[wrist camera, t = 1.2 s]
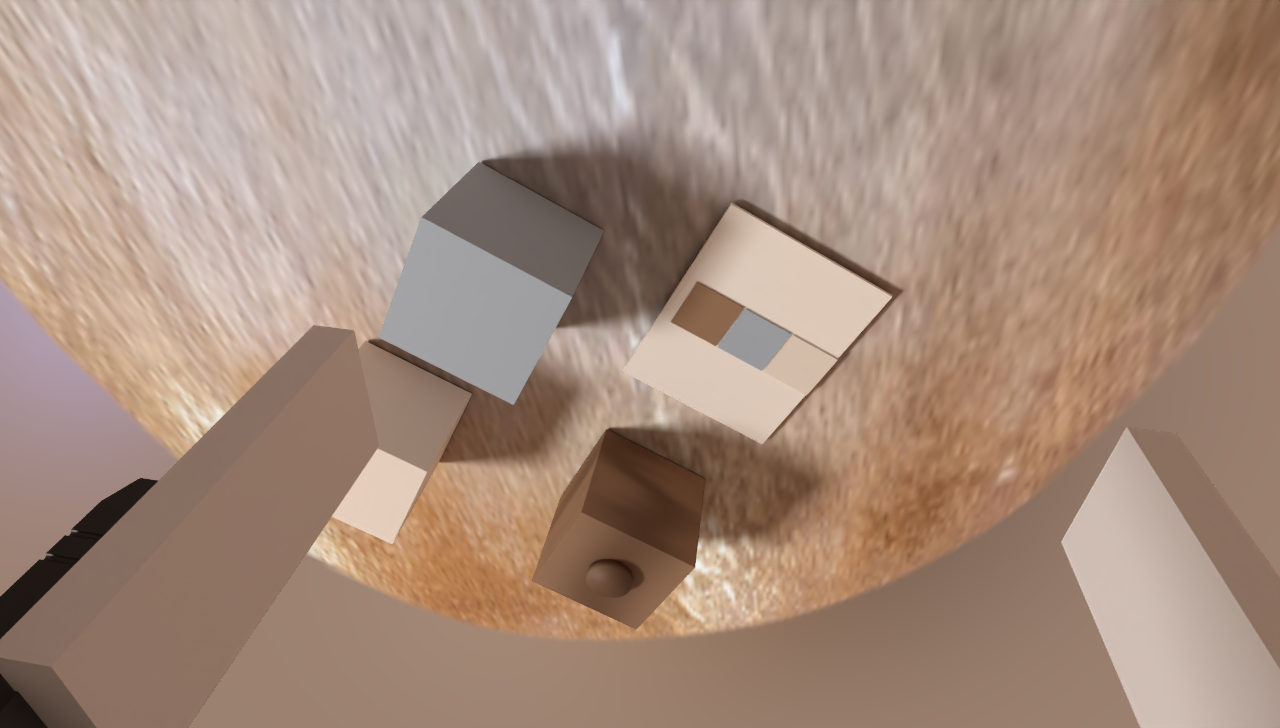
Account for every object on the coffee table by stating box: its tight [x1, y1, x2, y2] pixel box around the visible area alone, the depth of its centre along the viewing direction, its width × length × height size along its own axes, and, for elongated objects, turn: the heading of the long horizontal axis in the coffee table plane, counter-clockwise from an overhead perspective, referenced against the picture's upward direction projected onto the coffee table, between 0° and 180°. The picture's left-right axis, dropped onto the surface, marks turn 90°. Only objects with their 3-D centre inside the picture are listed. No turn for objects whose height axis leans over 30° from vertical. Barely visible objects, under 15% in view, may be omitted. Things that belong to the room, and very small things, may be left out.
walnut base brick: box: [532, 429, 705, 629], centre depth 37 cm, size 6×6×6 cm
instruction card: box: [623, 202, 892, 444], centre depth 33 cm, size 8×10×1 cm
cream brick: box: [332, 341, 472, 544], centre depth 36 cm, size 6×6×6 cm
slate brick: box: [379, 162, 604, 405], centre depth 30 cm, size 6×6×6 cm
